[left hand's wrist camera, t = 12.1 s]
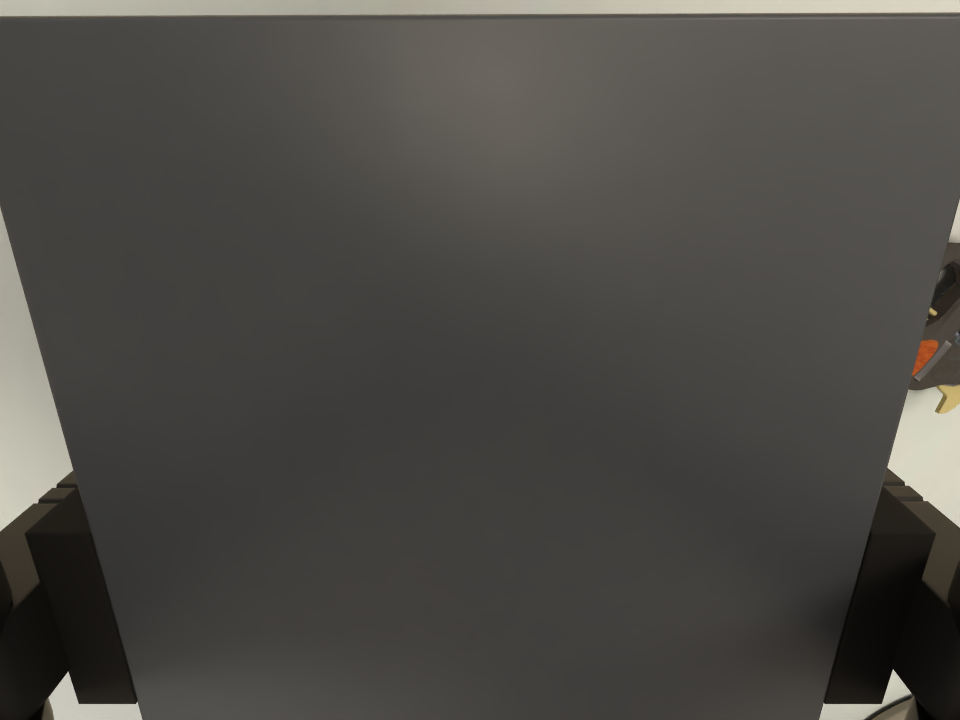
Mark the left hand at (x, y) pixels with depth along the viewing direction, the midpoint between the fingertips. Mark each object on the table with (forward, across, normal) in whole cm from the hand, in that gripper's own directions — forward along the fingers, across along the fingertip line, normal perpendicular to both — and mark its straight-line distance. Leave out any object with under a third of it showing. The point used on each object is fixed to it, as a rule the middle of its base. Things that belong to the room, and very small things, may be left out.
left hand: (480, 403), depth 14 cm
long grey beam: (+1, 0, -25) cm, 25 cm away
